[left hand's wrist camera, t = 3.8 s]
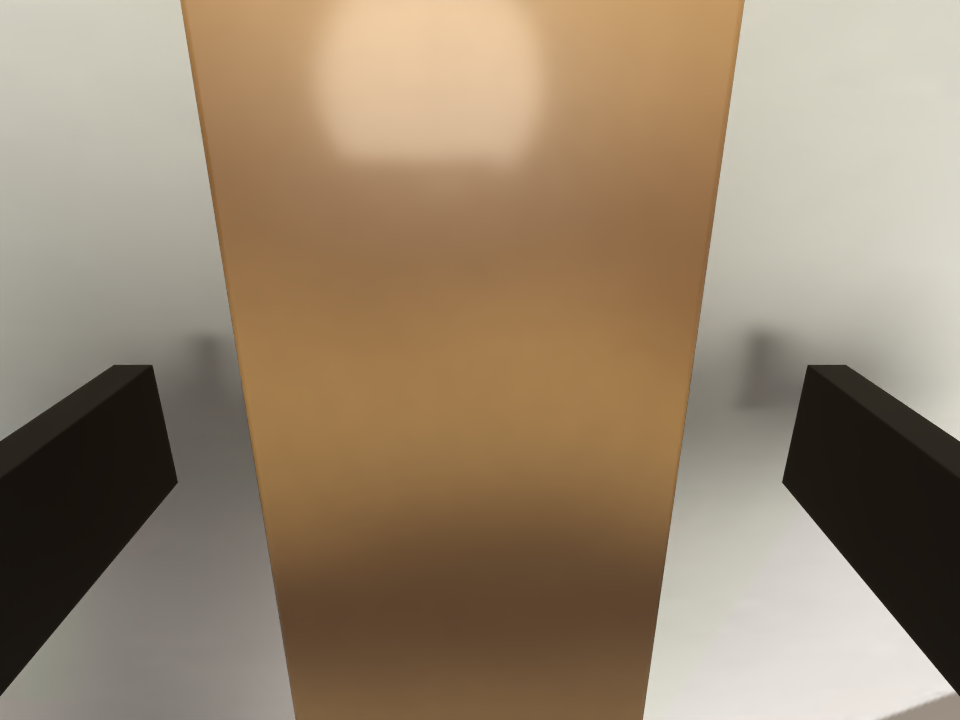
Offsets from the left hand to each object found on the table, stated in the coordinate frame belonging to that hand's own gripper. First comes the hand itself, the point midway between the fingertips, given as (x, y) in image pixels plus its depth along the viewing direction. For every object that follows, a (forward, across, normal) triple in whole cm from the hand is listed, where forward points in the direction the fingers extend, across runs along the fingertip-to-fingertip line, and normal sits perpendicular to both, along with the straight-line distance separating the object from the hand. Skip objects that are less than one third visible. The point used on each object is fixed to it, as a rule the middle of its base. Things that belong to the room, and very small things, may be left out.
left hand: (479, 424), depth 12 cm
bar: (+3, 0, -32) cm, 32 cm away
